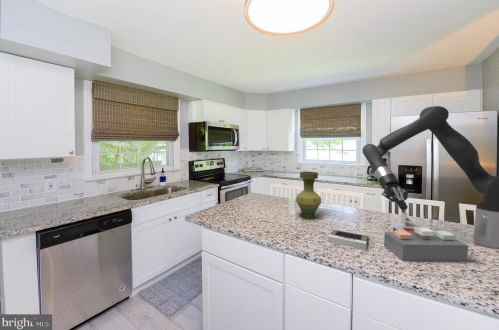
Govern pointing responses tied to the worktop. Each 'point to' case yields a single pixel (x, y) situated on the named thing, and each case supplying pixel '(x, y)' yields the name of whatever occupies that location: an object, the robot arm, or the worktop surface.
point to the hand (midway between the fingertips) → (405, 209)
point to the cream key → (423, 232)
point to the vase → (308, 196)
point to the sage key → (444, 235)
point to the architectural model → (404, 219)
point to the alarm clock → (348, 238)
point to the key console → (426, 248)
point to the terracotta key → (402, 234)
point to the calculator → (404, 229)
